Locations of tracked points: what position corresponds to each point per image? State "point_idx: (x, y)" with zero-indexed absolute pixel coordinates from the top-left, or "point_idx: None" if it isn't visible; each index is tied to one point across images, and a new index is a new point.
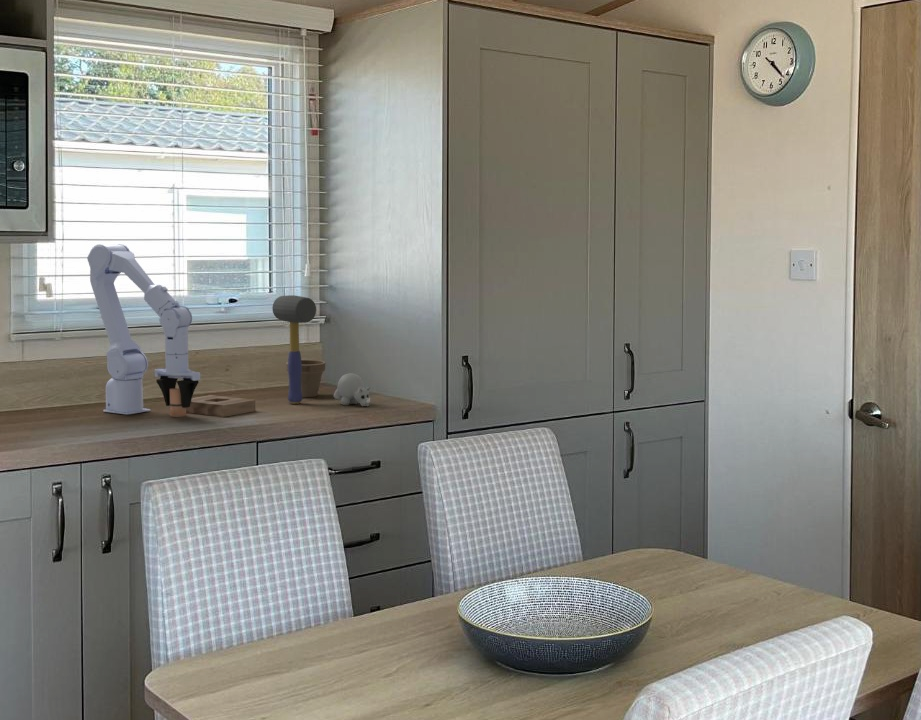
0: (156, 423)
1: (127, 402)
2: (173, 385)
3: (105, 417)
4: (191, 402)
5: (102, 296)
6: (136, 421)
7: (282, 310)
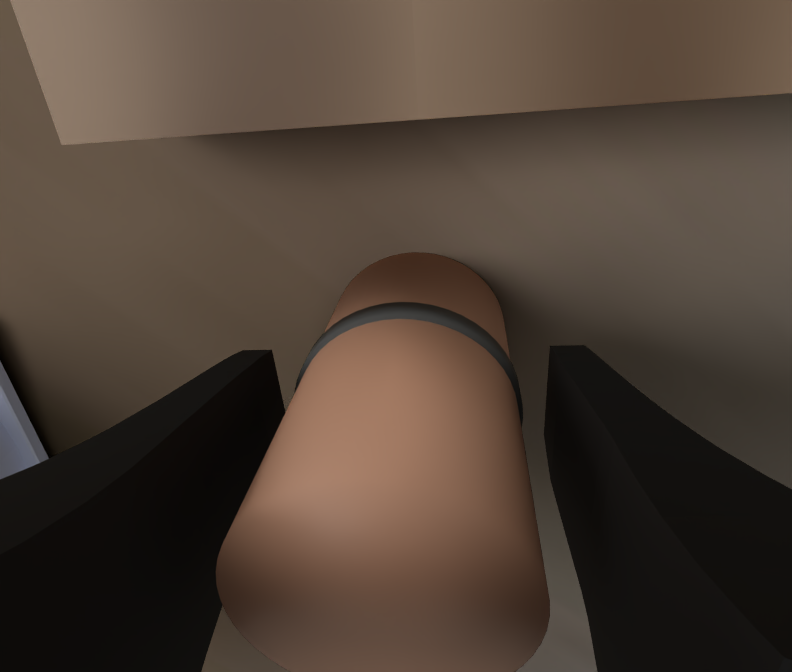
0: (575, 641)
1: None
2: (103, 565)
3: None
4: (367, 122)
5: None
6: None
7: None
